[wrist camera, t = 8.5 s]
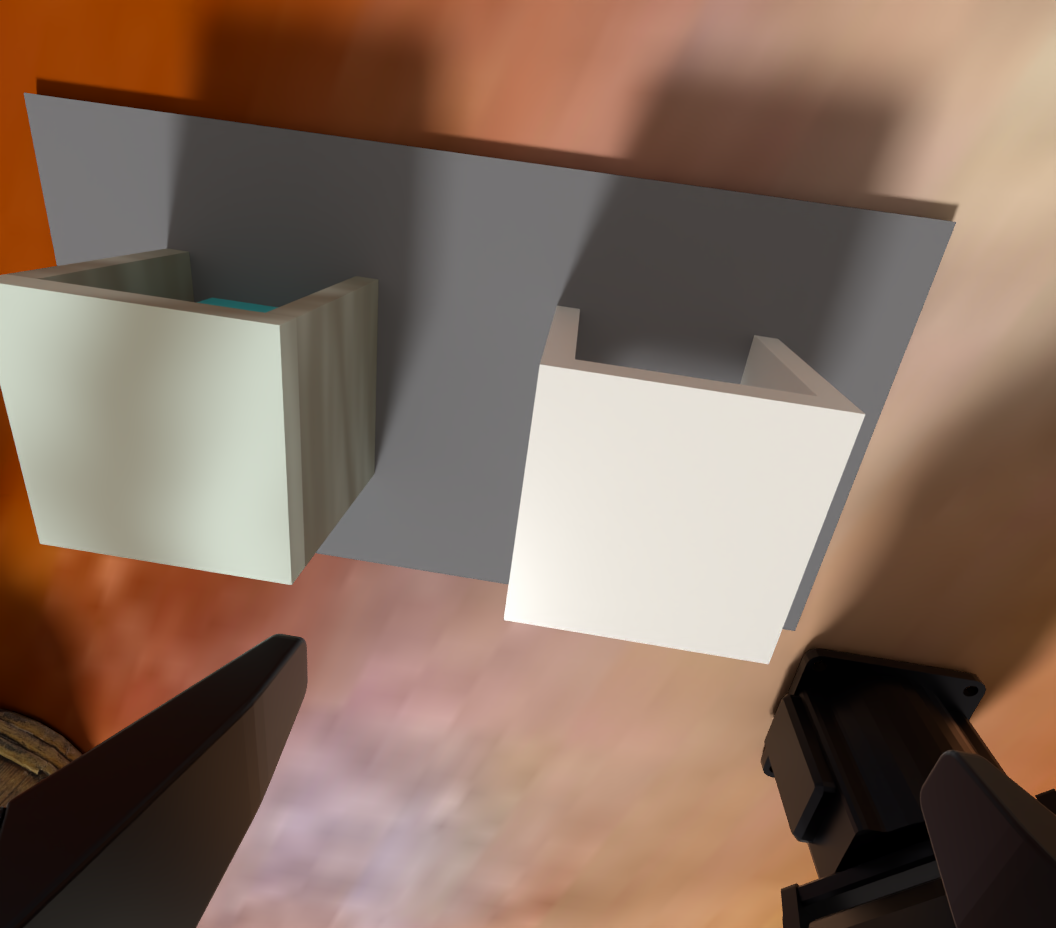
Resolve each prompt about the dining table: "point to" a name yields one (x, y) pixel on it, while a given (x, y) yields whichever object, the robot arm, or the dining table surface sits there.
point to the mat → (488, 290)
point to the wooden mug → (29, 753)
